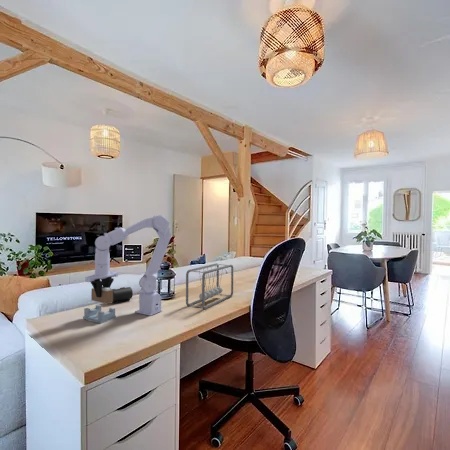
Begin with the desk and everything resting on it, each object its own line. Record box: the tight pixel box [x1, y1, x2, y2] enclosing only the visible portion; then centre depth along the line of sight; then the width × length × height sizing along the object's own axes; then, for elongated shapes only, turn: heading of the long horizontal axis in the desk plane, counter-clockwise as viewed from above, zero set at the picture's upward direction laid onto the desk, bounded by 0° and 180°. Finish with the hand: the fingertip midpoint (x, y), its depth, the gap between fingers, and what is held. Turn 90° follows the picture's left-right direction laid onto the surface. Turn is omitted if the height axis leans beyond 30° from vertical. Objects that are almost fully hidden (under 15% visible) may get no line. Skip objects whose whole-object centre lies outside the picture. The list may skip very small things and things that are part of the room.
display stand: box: [82, 304, 117, 324], centre depth 117 cm, size 11×8×4 cm
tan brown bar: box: [90, 286, 113, 305], centre depth 119 cm, size 10×3×6 cm, turn 62°
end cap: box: [111, 286, 134, 304], centre depth 143 cm, size 10×7×7 cm
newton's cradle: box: [185, 262, 234, 310], centre depth 145 cm, size 30×10×18 cm, turn 151°
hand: (102, 296), depth 119 cm, fingers closed on tan brown bar, 3 cm apart
